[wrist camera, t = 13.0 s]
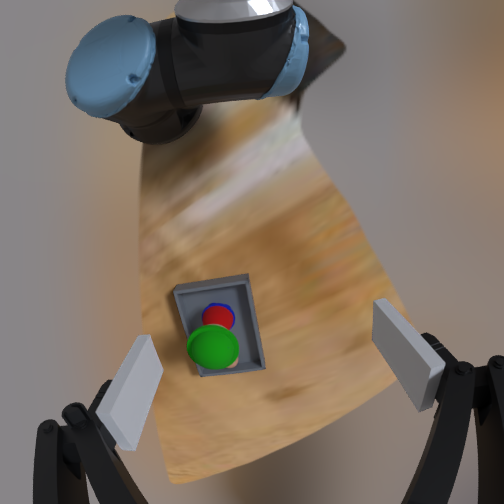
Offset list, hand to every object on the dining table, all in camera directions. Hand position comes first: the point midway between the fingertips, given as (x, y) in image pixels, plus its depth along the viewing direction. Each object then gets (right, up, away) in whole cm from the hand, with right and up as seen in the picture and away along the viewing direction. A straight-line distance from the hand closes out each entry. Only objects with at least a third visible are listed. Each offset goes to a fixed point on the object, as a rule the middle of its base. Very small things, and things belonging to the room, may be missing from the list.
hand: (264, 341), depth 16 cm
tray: (-6, -9, +38) cm, 40 cm away
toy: (-7, -6, +37) cm, 38 cm away
